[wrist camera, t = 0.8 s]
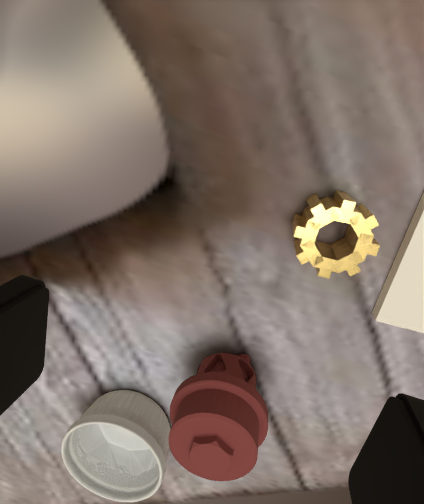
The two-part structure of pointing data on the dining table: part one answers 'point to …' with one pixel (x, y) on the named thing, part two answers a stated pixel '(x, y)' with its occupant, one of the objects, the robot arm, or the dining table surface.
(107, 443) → the ramekin
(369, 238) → the brass gear
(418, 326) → the gear board
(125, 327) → the dining table surface
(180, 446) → the mechanical component
